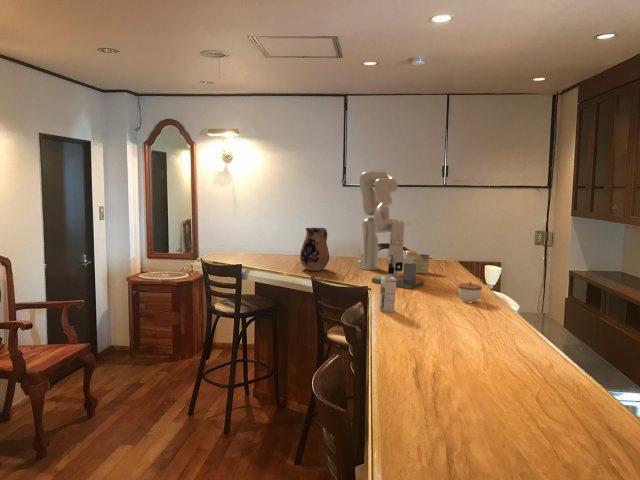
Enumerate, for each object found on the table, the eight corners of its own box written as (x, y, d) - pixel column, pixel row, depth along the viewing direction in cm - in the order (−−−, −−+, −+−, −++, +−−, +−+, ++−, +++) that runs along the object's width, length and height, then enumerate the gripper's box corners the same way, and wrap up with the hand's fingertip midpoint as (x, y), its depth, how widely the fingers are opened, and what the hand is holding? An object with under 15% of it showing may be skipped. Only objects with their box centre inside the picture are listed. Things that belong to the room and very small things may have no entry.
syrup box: (378, 308, 227) (380, 276, 226) (391, 308, 228) (393, 276, 226) (381, 312, 222) (383, 278, 220) (394, 312, 222) (396, 279, 220)
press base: (371, 282, 283) (372, 260, 281) (384, 278, 294) (385, 257, 292) (411, 289, 268) (412, 266, 267) (423, 285, 280) (424, 263, 278)
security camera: (393, 278, 295) (394, 261, 293) (386, 276, 301) (387, 259, 299) (402, 277, 298) (403, 260, 296) (395, 275, 304) (396, 258, 302)
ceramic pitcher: (294, 270, 308) (296, 228, 305) (309, 265, 328) (310, 225, 324) (322, 273, 302) (323, 230, 298) (335, 268, 321) (336, 227, 318)
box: (427, 272, 319) (428, 253, 318) (428, 273, 314) (429, 254, 312) (410, 271, 320) (411, 252, 319) (410, 272, 315) (411, 253, 313)
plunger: (401, 272, 276) (403, 251, 274) (407, 271, 280) (408, 250, 279) (412, 274, 272) (413, 252, 270) (417, 273, 277) (418, 251, 275)
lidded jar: (463, 297, 255) (464, 278, 253) (484, 301, 248) (485, 282, 247) (453, 301, 246) (454, 281, 245) (475, 305, 240) (476, 285, 238)
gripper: (398, 240, 306) (396, 269, 308) (383, 243, 292) (381, 273, 294) (409, 242, 301) (407, 271, 303) (394, 244, 287) (393, 275, 290)
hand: (394, 272), depth 299 cm, fingers closed on security camera, 8 cm apart
